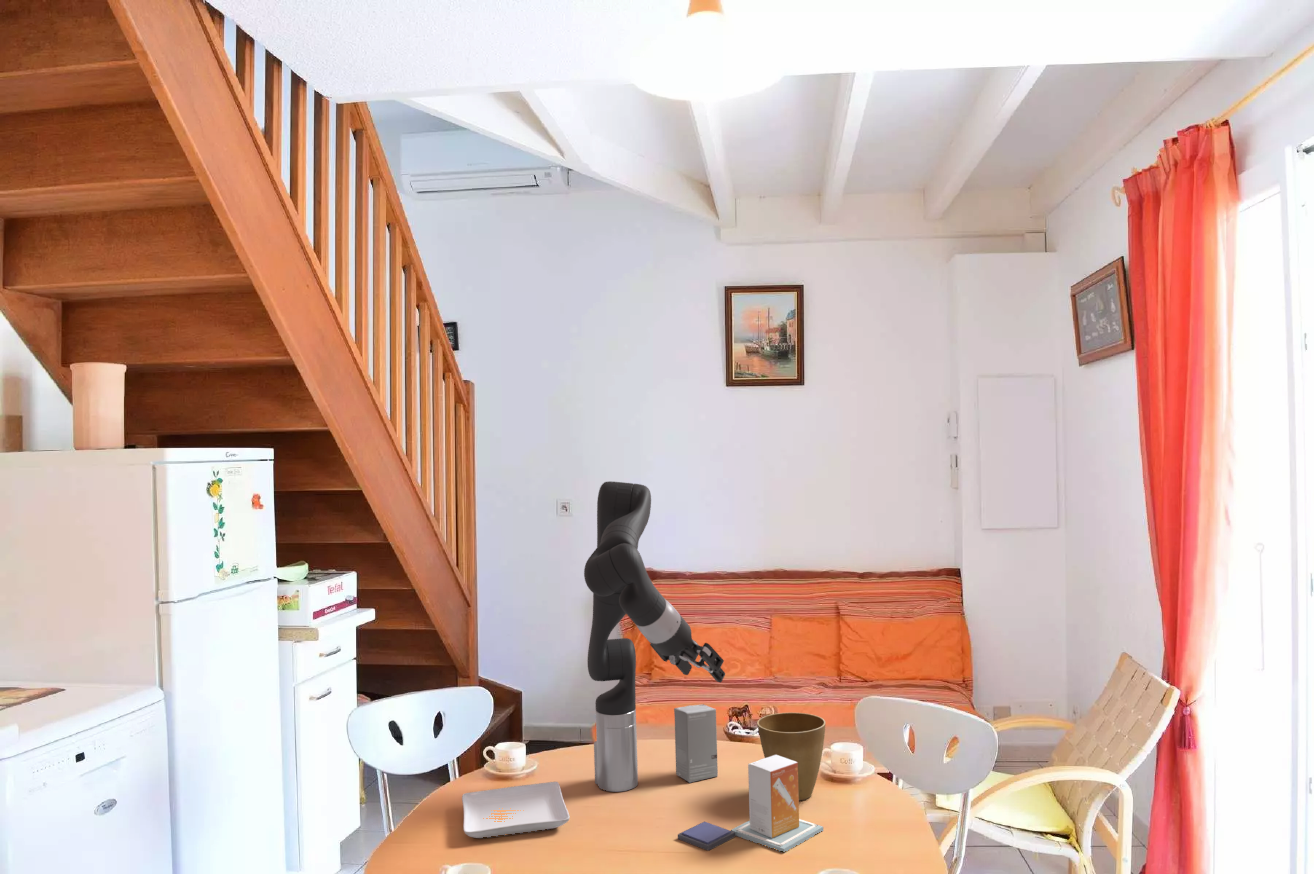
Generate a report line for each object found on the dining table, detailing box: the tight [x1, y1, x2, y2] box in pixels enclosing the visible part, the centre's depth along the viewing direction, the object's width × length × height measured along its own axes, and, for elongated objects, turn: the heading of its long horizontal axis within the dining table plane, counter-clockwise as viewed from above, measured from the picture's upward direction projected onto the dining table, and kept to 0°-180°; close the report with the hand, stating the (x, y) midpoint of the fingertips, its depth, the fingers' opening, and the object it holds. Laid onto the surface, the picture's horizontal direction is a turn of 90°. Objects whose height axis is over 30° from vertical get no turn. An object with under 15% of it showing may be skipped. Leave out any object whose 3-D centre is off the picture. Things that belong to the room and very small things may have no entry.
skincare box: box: [673, 703, 719, 783], centre depth 211 cm, size 8×7×16 cm
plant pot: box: [756, 712, 826, 801], centre depth 198 cm, size 15×15×16 cm
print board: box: [730, 818, 824, 853], centre depth 179 cm, size 13×13×1 cm
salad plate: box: [461, 781, 571, 839], centre depth 190 cm, size 21×21×3 cm
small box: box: [747, 755, 800, 838], centre depth 179 cm, size 8×6×13 cm
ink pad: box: [677, 821, 736, 851], centre depth 177 cm, size 8×8×1 cm
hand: (704, 674), depth 174 cm, fingers open, 8 cm apart
